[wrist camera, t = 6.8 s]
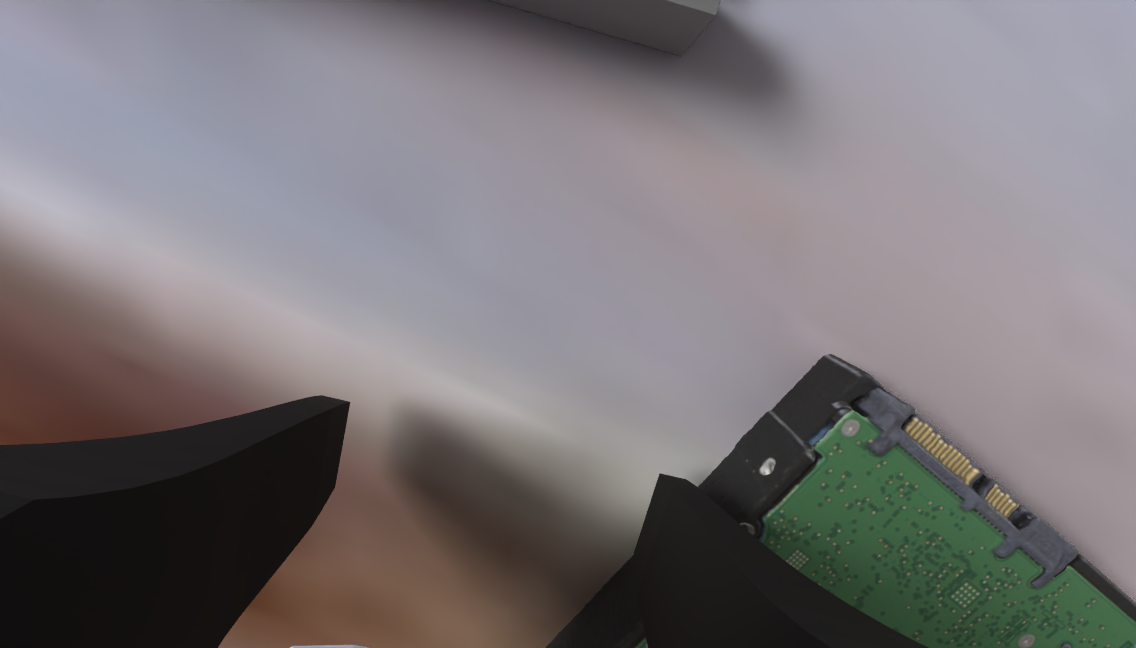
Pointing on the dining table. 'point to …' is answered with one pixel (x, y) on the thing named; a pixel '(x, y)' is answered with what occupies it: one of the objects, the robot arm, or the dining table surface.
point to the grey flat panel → (632, 18)
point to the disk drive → (890, 530)
